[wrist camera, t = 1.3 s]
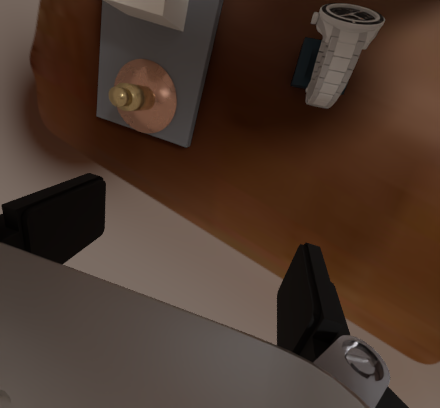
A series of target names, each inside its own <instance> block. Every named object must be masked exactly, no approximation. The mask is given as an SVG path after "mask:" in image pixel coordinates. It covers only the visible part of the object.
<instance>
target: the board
mask: <svg viewBox="0 0 440 408" xmlns="http://www.w3.org/2000/svg"><path fill="white" fill-rule="evenodd" d="M222 4H223V0H189V2H188V8H187V14H186V19H185V25H184V30H183V32H182V31H179V30H175V29H172V28H169V27H165V26H162V25H159V24H156V23H152V22H149V21H146V20H142V19H139V18H136V17H133V16H129V15H127V14H125V13H123V12H122V11H120V10H118V9H117V8H115V7H113V6H112V5H110V4H108V3H107V2H105V1H103V0H102V17H101V37H100V57H99V77H98V97H97V117H100V118H103V119H106V120H109V121H111V122H114V123H117V124H120V125H123V126H126V127H129V128H132V127H130V126H129V125H128V124H127V123H126V122H125V121H124V120H123V118H122V117H121V115H120V113H119V112H118V109H117V107H116V106H114V105H113V104H112V103H111V102H110V100H109V91H110V89H111V88H112V87H114V83H115V79H116V77H117V74H118V73H119V71H120V69H121V68H122V67H123V66H124V65H125V64H127V63H128V62H130V61H132V60H135V59H147V60H150V61H153V62H155V63H157V64H159V65H160V66H161V67H162V68H163V69H164V70H165V71H166V72H167V73H168V74H169V76H170V78H171V79H172V81H173V84H174V86H175V90H176V95H177V107H176V112H175V115H174V117H173V119H172V121H171V122H170V124H169V125H168V126H167V127H166V128H164V129H163V130H161V131H159V132H156V133H146V134H149V135H152V136H155V137H157V138H160V139H163V140H166V141H169V142H172V143H175V144H178V145H180V146H183V147H186V148H187V147H189V146H190V144H191V139H192V135H193V131H194V126H195V122H196V118H197V113H198V109H199V105H200V100H201V96H202V91H203V87H204V83H205V78H206V74H207V70H208V65H209V61H210V57H211V52H212V48H213V43H214V39H215V35H216V30H217V26H218V22H219V17H220V13H221V8H222ZM132 129H133V128H132ZM134 130H135V129H134Z"/></svg>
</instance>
